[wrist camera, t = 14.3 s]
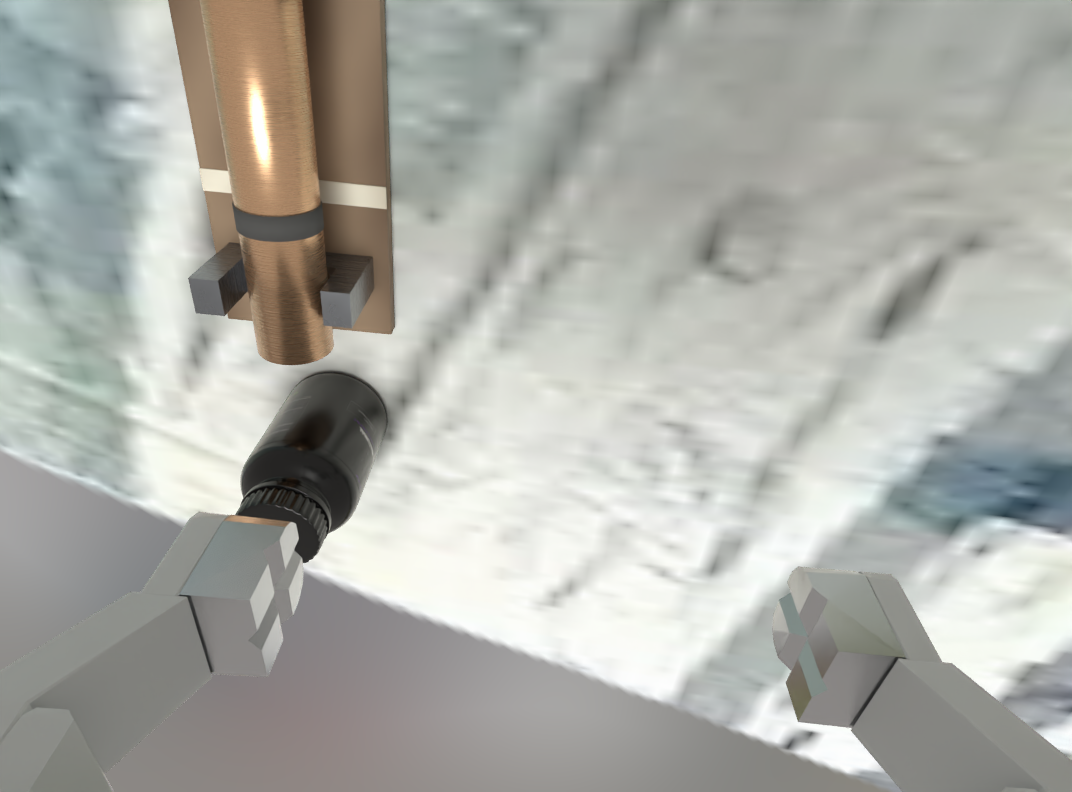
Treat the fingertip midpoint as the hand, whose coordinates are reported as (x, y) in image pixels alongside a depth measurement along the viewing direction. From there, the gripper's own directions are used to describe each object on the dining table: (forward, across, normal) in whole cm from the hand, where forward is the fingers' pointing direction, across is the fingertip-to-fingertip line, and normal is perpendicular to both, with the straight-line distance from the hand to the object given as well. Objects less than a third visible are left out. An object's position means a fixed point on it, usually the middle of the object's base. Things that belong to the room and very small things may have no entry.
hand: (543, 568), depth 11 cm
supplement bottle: (+29, +13, +19) cm, 37 cm away
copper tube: (+26, +14, 0) cm, 30 cm away
